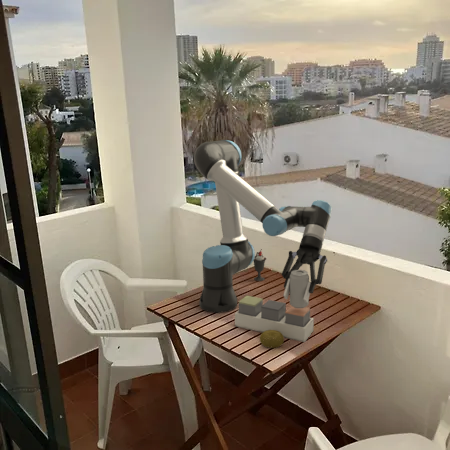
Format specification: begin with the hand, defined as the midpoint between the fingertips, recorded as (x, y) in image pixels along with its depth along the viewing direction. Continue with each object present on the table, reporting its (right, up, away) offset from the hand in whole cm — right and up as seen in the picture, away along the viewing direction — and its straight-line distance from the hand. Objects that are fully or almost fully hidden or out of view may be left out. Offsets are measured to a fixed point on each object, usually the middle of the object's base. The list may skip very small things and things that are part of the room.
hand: (295, 299), depth 155 cm
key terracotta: (+2, -10, +6) cm, 12 cm away
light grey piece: (-6, -12, +11) cm, 18 cm away
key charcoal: (-6, -9, +10) cm, 15 cm away
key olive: (-14, -8, +15) cm, 22 cm away
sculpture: (-8, -15, 0) cm, 17 cm away
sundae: (-8, 0, +60) cm, 60 cm away
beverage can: (+2, -3, +4) cm, 5 cm away
